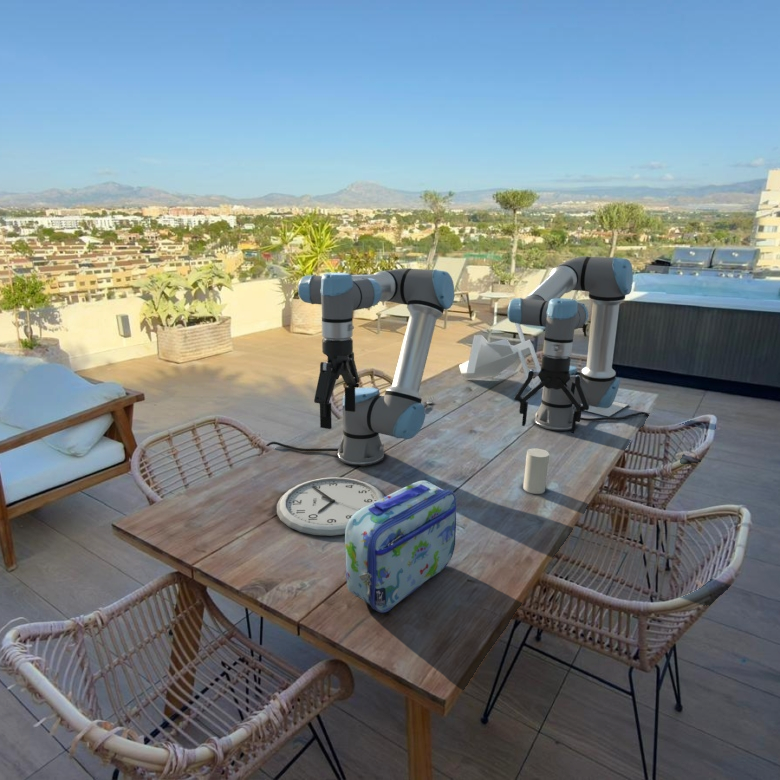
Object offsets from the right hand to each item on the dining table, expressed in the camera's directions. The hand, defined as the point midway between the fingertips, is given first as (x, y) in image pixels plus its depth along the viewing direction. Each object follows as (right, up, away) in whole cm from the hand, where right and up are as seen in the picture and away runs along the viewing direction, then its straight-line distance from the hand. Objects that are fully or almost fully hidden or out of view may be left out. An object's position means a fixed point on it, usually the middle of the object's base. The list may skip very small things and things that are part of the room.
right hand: (547, 428), depth 150 cm
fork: (-30, +4, +73) cm, 79 cm away
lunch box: (-43, -31, -38) cm, 65 cm away
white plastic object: (+7, +13, +104) cm, 105 cm away
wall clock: (-61, -21, -7) cm, 65 cm away
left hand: (-59, +3, -15) cm, 61 cm away
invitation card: (+46, +4, +76) cm, 89 cm away
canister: (-3, -18, +4) cm, 19 cm away
